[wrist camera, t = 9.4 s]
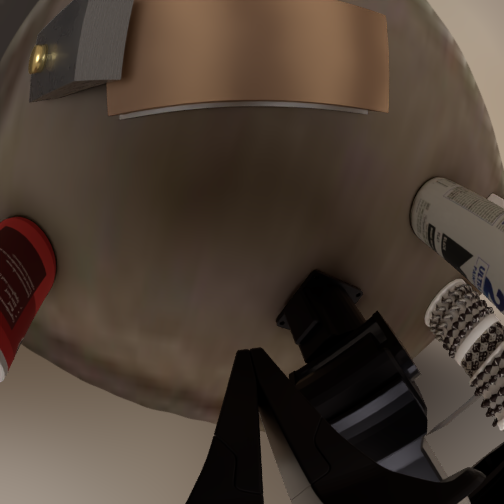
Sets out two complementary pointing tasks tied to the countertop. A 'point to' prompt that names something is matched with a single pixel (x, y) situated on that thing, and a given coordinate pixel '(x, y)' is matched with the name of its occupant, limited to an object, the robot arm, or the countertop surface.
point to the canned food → (21, 282)
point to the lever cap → (79, 48)
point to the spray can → (463, 233)
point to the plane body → (251, 56)
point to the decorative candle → (472, 341)
